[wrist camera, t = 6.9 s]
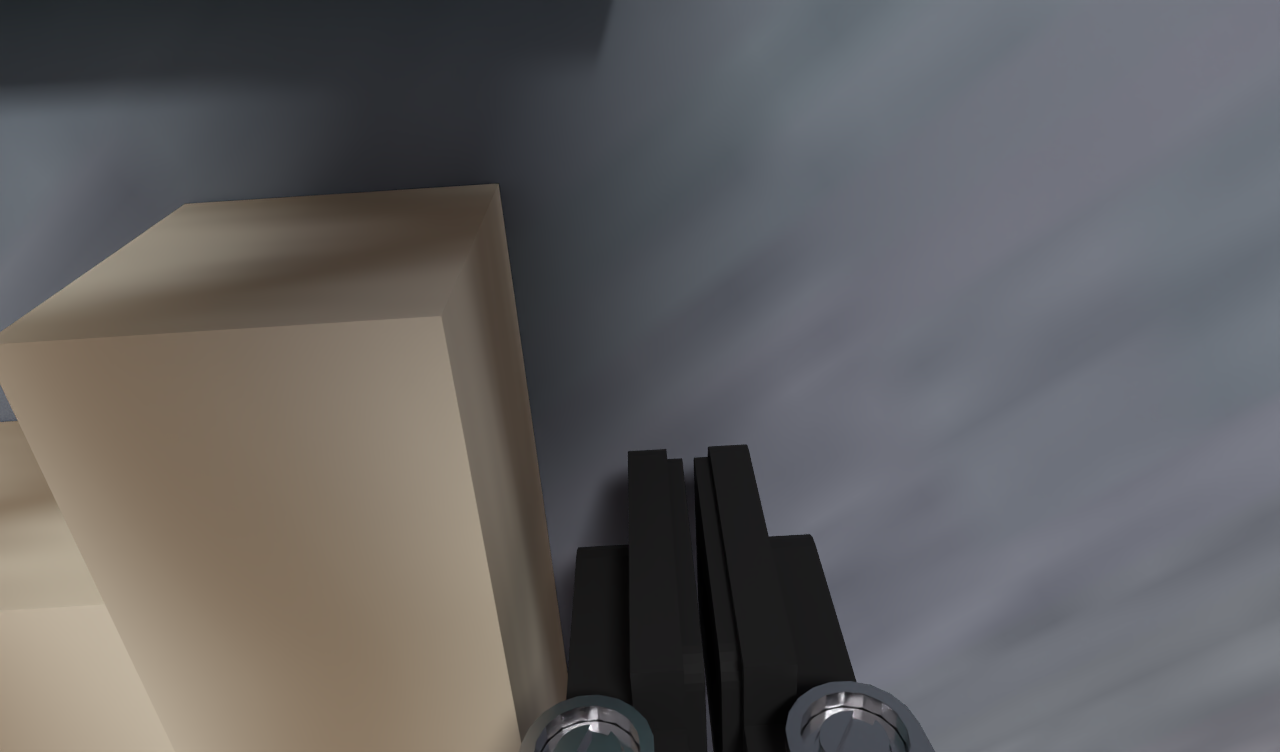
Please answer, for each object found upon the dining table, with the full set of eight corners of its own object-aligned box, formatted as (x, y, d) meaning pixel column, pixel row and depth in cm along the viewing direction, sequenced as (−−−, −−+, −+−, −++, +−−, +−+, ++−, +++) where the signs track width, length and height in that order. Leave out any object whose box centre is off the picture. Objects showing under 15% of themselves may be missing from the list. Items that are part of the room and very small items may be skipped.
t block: (498, 183, 11) (441, 315, 7) (575, 723, 16) (561, 959, 12) (-280, 234, 11) (-697, 388, 8) (30, 755, 16) (-137, 996, 12)
